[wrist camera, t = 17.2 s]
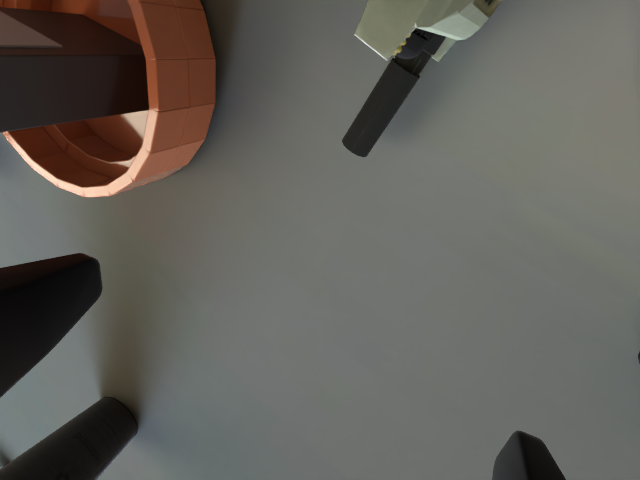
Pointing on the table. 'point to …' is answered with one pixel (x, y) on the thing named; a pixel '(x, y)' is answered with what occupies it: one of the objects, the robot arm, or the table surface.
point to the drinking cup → (77, 446)
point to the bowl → (138, 127)
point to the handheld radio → (407, 53)
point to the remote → (66, 70)
